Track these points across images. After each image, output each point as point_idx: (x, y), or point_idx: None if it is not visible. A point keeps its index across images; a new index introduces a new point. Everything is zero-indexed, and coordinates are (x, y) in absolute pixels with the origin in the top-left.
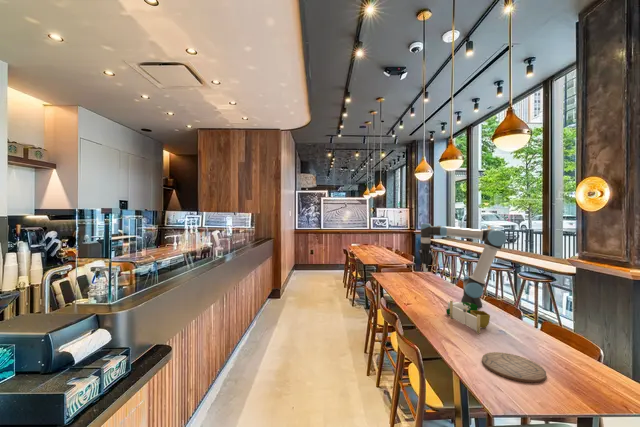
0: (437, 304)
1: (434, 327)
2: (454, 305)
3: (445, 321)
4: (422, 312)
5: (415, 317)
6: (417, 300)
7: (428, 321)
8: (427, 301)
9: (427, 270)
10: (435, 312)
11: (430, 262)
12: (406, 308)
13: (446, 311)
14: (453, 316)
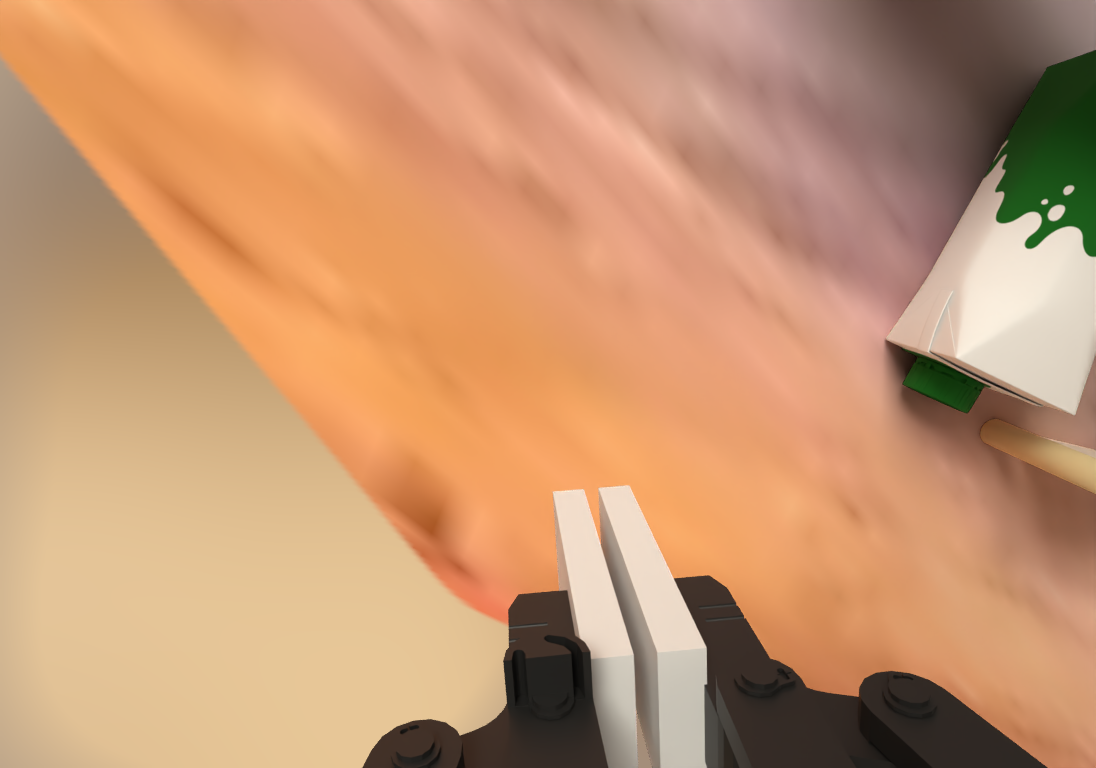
0: (588, 180)
1: (1045, 734)
2: (1082, 391)
3: (1015, 553)
4: (730, 572)
5: None
6: (337, 299)
7: None
8: (427, 201)
9: (639, 514)
10: (796, 447)
11: (973, 720)
12: None
13: (908, 386)
14: None
